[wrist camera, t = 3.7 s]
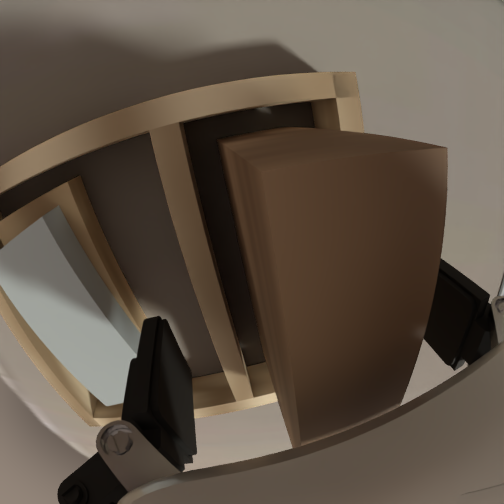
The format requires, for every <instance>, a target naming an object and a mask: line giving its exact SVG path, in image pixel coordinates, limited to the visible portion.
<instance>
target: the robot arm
mask: <svg viewBox="0 0 504 504" xmlns="http://www.w3.org/2000/svg"><path fill="white" fill-rule="evenodd" d="M501 1H502V2H504V0H501ZM489 297H490V295H489V294H488V293H487V292H486V291H484V290H483V289H482V288H481V287H479V286H478V285H477V284H475V283H474V282H473V281H471V280H470V279H469V278H467V277H466V276H465V275H463V274H462V273H461V272H459V271H458V270H457V269H455V268H454V267H452V266H451V265H450V264H448V263H447V262H445V261H444V260H442V259H440V265H439V271H438V277H437V282H436V287H435V292H434V297H433V302H432V306H431V310H430V315H429V319H428V323H427V326H426V330H425V334H424V337H423V338H424V340H425V341H426V342H427V343H428V344H429V345H430V346H431V347H432V349H433V350H434V351H435V352H436V353H437V354H438V355H439V357H440V358H441V359H442V360H443V361H444V362H445V364H447V365H448V366H451V367H452V368H453V370H454V371H455V370H456V369H458V368H459V367H461V366H462V365H463V364H464V362H465V361H466V362H467V363H468V367H466V368H465V369H463V370H462V371H460V372H459V373H457V374H456V375H454V376H453V377H451V378H450V379H448V380H446V381H445V382H443V383H441V384H440V385H438V386H436V387H435V388H433V389H431V390H430V391H428V392H426V393H424V394H423V395H421V396H419V397H417V398H415V399H413V400H412V401H410V402H408V403H406V404H404V405H402V406H400V407H398V408H396V409H394V410H392V411H390V412H388V413H386V414H383V415H381V416H379V417H377V418H375V419H372V420H370V421H368V422H365V423H363V424H361V425H358V426H356V427H353V428H351V429H348V430H346V431H343V432H341V433H338V434H335V435H332V436H330V437H327V438H324V439H321V440H318V441H315V442H312V443H309V444H306V445H303V446H299V447H296V448H292V449H289V450H285V451H281V452H278V453H274V454H270V455H266V456H262V457H258V458H253V459H249V460H244V461H240V462H235V463H229V464H224V465H218V466H213V467H208V468H203V469H197V470H191V471H187V472H182V471H183V470H184V469H185V467H184V464H187V463H193V458H192V455H196V454H197V447H196V434H195V421H194V405H193V386H192V374H191V371H190V368H189V366H188V364H187V362H186V360H185V358H184V356H183V354H182V352H181V350H180V348H179V345H178V343H177V341H176V339H175V337H174V335H173V332H172V330H171V328H170V326H169V323H168V321H167V320H166V319H163V320H162V319H161V317H160V316H157V317H152V318H148V319H144V321H143V325H142V330H141V335H140V340H139V346H138V351H137V357H136V358H133V359H132V360H131V362H130V366H129V371H128V377H127V383H126V389H125V395H124V402H123V409H122V416H121V420H116V421H113V422H110V423H108V424H106V425H105V426H104V427H103V428H102V429H101V430H100V432H99V433H98V435H97V439H96V448H97V450H98V452H97V453H96V454H95V455H94V456H92V457H91V458H90V459H89V460H88V461H87V462H85V463H84V464H83V465H82V466H81V467H80V468H78V469H77V470H76V471H75V472H74V473H72V474H71V475H70V476H69V477H67V478H66V479H65V480H64V481H63V482H62V483H61V484H60V486H59V489H58V501H59V503H60V504H504V296H497V297H495V298H494V299H493V300H492V302H491V304H490V303H488V301H489Z"/></svg>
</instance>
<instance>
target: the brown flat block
mask: <svg viewBox="0 0 504 504" xmlns="http://www.w3.org/2000/svg"><path fill="white" fill-rule="evenodd" d="M216 140H217V144H218V149H219V154H220V159H221V164H222V168H223V173H224V178H225V183H226V187H227V192H228V197H229V201H230V206H231V211H232V215H233V220H234V225H235V229H236V234H237V238H238V243H239V248H240V252H241V257H242V261H243V266H244V270H245V275H246V279H247V284H248V288H249V293H250V297H251V302H252V306H253V311H254V315H255V320H256V324H257V328H258V333H259V337H260V342H261V346H262V350H263V354H264V357H265V360H266V364H267V367H268V370H269V373H270V377H271V380H272V383H273V386H274V390H275V393H276V396H277V399H278V403H279V406H280V409H281V412H282V415H283V419H284V422H285V425H286V428H287V431H288V434H289V437H290V441H291V444H292V447H293V448H296V447H299V446H303V445H306V444H309V443H312V442H315V441H318V440H321V439H324V438H327V437H330V436H332V435H335V434H338V433H341V432H343V431H346V430H348V429H351V428H353V427H356V426H358V425H361V424H363V423H365V422H368V421H370V420H372V419H375V418H377V417H379V416H381V415H383V414H386V413H388V412H390V411H392V410H394V409H396V408H398V407H400V404H401V402H402V399H403V397H404V394H405V392H406V389H407V386H408V384H409V381H410V378H411V375H412V373H413V370H414V367H415V364H416V361H417V357H418V354H419V351H420V348H421V344H422V341H423V337H424V334H425V330H426V326H427V323H428V319H429V315H430V310H431V306H432V302H433V297H434V292H435V287H436V282H437V277H438V271H439V265H440V259H441V252H442V244H443V236H444V226H445V215H446V201H447V170H448V162H447V148H446V147H442V146H437V145H433V144H428V143H423V142H418V141H413V140H407V139H401V138H395V137H389V136H382V135H375V134H368V133H360V132H351V131H342V130H331V129H318V128H302V127H281V128H275V129H268V130H262V131H256V132H251V133H245V134H240V135H235V136H230V137H225V138H220V139H216Z"/></svg>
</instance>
